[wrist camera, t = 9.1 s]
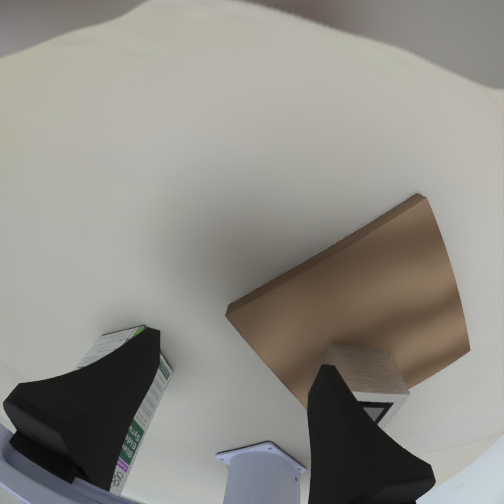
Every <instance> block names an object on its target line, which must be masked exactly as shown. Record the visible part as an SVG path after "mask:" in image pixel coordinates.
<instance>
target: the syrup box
mask: <svg viewBox="0 0 504 504" xmlns="http://www.w3.org/2000/svg"><path fill="white" fill-rule="evenodd" d="M144 329H145V327H144V326H141V327H137V328H132V329H128V330H124V331H120V332H116V333H112V334H108V335H104V336H101V337H100V338H99V339H98V341H97V342H96V343H95V344H94V346H93V347H92V348H91V349H90V351H89V352H88V353H87V354H86V355H85V357H84V358H83V359H82V360H81V362H80V363H79V364H78V365H77V367H76V368H75V369H74V371H75V370H78V369H80V368H83V367H85V366H87V365H89V364H91V363H93V362H95V361H97V360H99V359H101V358H102V357H104V356H106V355H107V354H109V353H111V352H112V351H114V350H116V349H117V348H119V347H120V346H121V345H123V344H124V343H126V342H127V341H129V340H130V339H132V338H133V337H134V336H136V335H137V334H138V333H140V332H141V331H143V330H144ZM172 372H173V371H172V369H171V368H170V367H169V366H168V364H167V363H166V361H165V359H164V358H163V356H162V355H161V353H160V365H159V368H158V371H157V373H156V376H155V378H154V381H153V383H152V385H151V387H150V389H149V391H148V392H147V394H146V396H145V398H144V400H143V402H142V403H141V405H140V407H139V409H138V411H137V413H136V415H135V416H134V418H133V421H132V423H131V425H130V428H129V430H128V433H127V436H126V438H125V441H124V444H123V447H122V450H121V453H120V455H119V459H118V462H117V465H116V469H115V472H114V476H113V480H112V484H111V487H110V493H112V494H115V495H117V496H120V494H121V492H122V489H123V487H124V484H125V482H126V480H127V477H128V475H129V472H130V470H131V467H132V465H133V463H134V460H135V458H136V455H137V453H138V451H139V448H140V446H141V443H142V441H143V438H144V436H145V434H146V431H147V429H148V427H149V424H150V422H151V420H152V418H153V415H154V413H155V411H156V408H157V406H158V404H159V402H160V399H161V397H162V395H163V393H164V391H165V388H166V386H167V384H168V382H169V380H170V378H171V376H172Z"/></svg>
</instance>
